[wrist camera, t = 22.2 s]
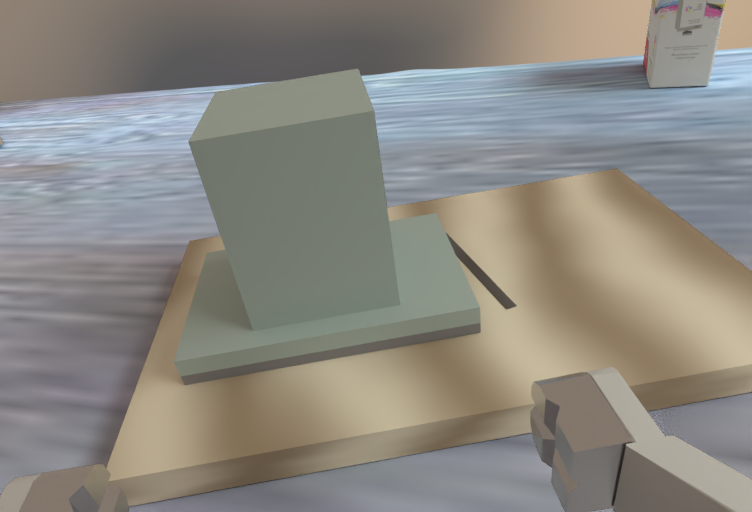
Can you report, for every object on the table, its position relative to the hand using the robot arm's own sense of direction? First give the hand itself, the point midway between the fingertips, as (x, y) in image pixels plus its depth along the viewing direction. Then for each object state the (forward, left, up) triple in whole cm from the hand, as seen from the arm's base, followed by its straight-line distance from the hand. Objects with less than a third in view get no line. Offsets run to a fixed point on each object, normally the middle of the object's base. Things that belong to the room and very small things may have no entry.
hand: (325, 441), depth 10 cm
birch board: (-4, -13, -8) cm, 16 cm away
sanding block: (+1, -13, -6) cm, 14 cm away
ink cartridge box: (-33, -41, -8) cm, 54 cm away
